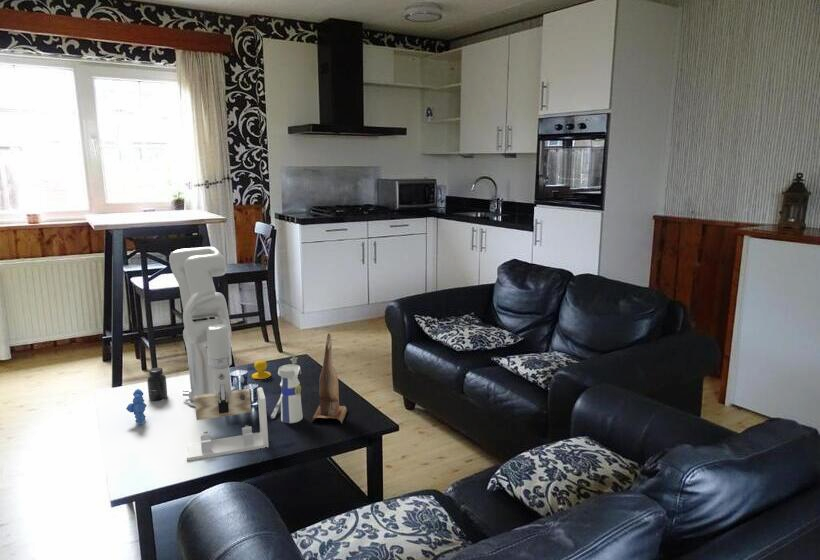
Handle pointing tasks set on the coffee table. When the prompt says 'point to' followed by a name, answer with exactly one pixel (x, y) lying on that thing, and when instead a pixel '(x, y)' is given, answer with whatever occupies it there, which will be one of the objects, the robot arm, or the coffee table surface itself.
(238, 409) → the door
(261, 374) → the doorknob
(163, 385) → the supplement bottle
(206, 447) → the hinge base
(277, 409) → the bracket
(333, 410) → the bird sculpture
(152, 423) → the coffee table surface
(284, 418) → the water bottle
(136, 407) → the grapes
